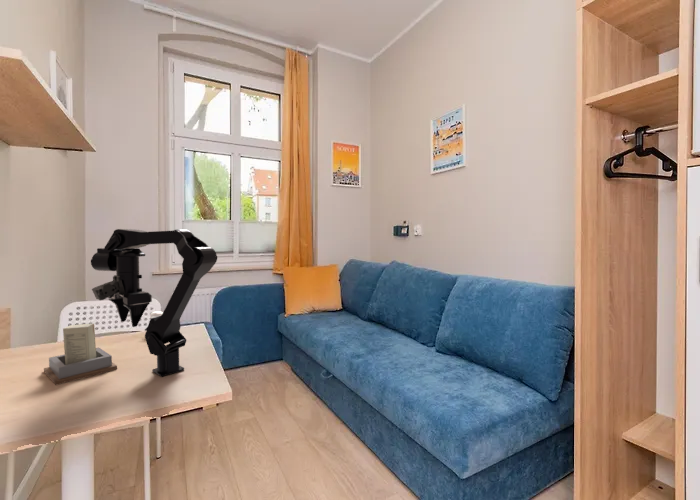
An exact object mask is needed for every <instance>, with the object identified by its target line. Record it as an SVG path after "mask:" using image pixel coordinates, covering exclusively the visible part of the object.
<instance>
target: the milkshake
mask: <svg viewBox="0 0 700 500" xmlns="http://www.w3.org/2000/svg"><path fill="white" fill-rule="evenodd" d="M163 312H164V311H160V310H158V311H157V310H155V311H152V312H151V313H150V315H149V317H150V319H151V318H154V317H158V316H161V315H162V314H163Z"/></svg>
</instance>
